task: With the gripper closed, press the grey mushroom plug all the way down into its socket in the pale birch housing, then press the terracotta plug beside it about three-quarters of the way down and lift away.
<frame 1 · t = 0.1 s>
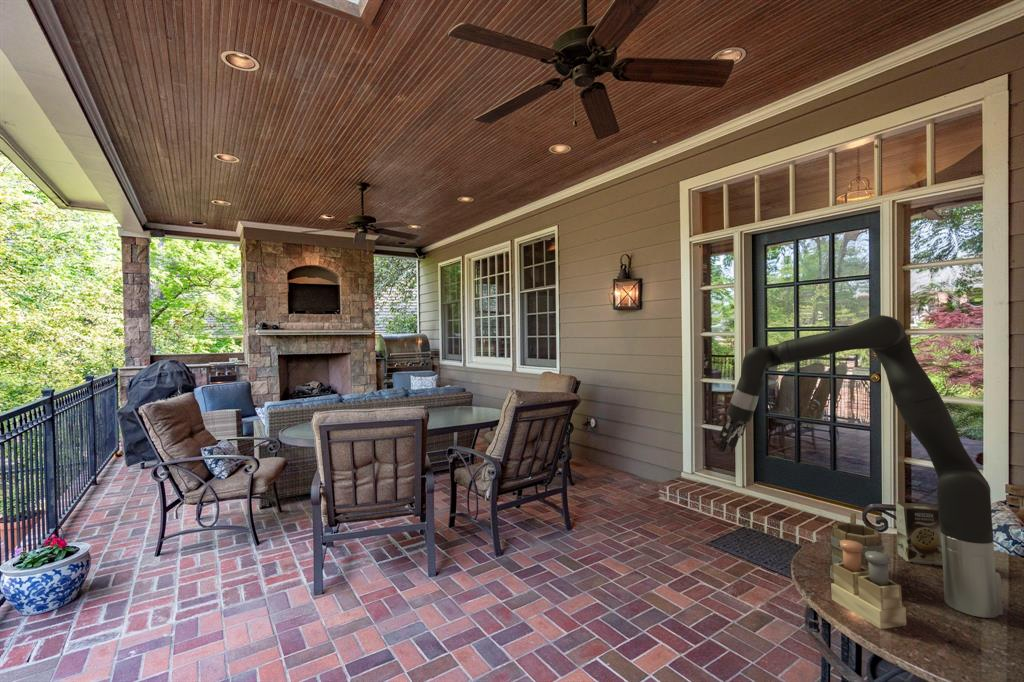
hand: (726, 448, 154), 31 cm above the table, tool tilted 20°, fingers open, 8 cm apart
terracotta plug: (851, 557, 115), point 12 cm above the table, slide at 0.0 cm
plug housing: (867, 611, 111), on the table
tankard: (858, 576, 129), on the table
coffee box: (921, 560, 137), on the table
grey mushroom plug: (878, 569, 108), point 12 cm above the table, slide at 0.0 cm
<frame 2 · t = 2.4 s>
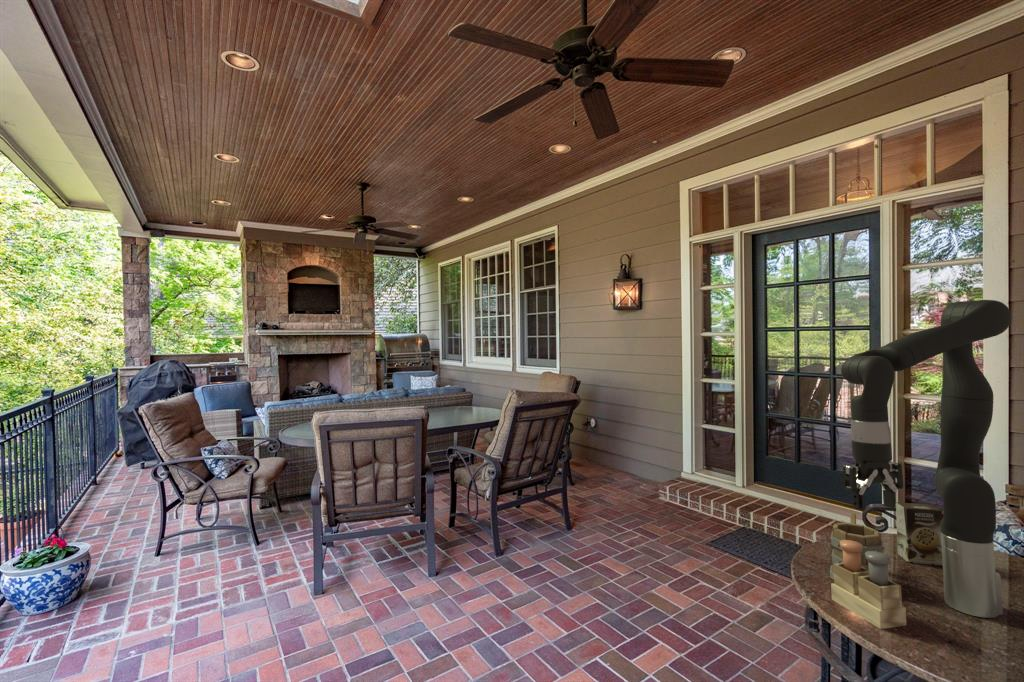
hand: (874, 508, 108), 26 cm above the table, tool pointing down, fingers open, 8 cm apart
nothing on the table moved.
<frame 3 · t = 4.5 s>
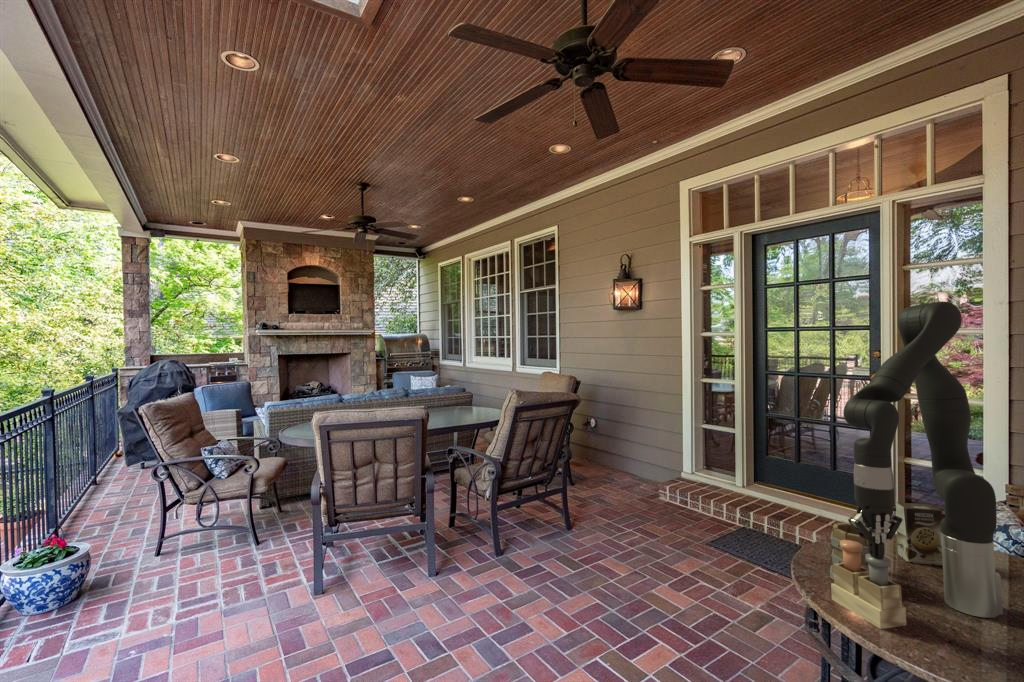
hand: (877, 557, 108), 14 cm above the table, tool pointing down, fingers closed
grey mushroom plug: (878, 572, 108), point 11 cm above the table, slide at 0.6 cm, touching gripper
everything else where it was.
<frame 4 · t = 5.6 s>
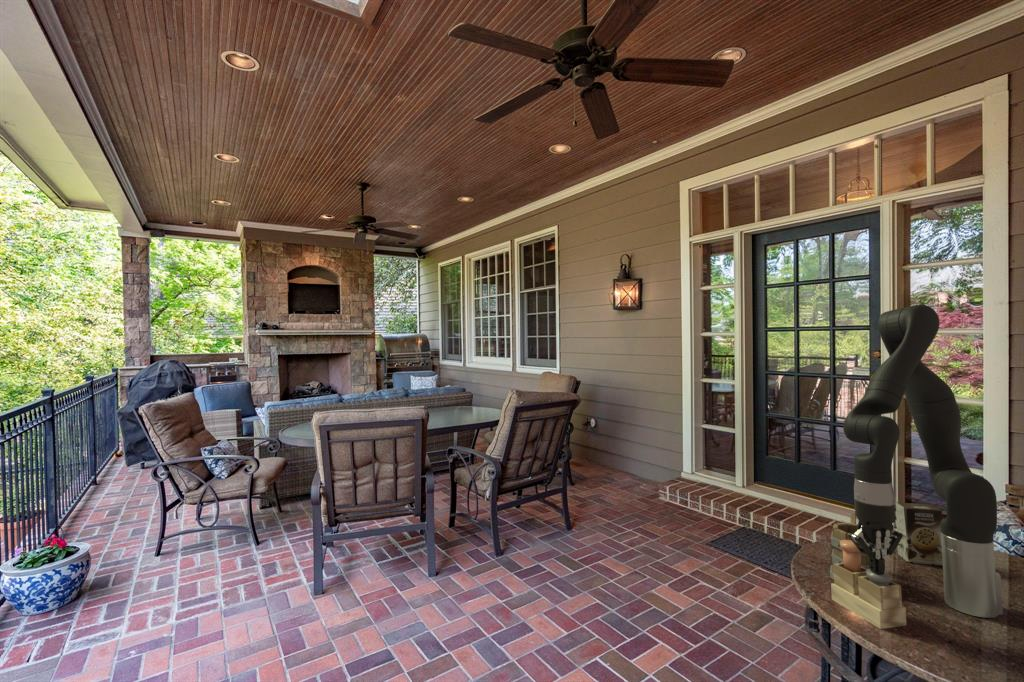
hand: (877, 572, 108), 11 cm above the table, tool pointing down, fingers closed
grey mushroom plug: (879, 587, 108), point 7 cm above the table, slide at 4.2 cm, touching gripper, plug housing
everything else where it was.
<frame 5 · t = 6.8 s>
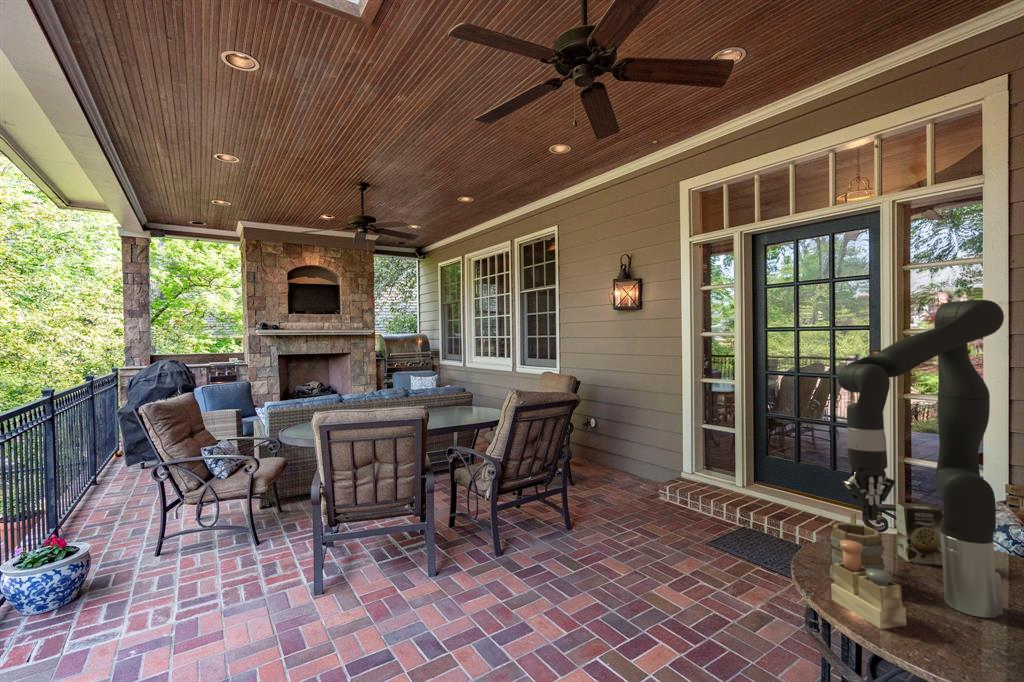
hand: (870, 519, 109), 23 cm above the table, tool pointing down, fingers closed
grey mushroom plug: (879, 587, 108), point 7 cm above the table, slide at 4.1 cm
everything else where it was.
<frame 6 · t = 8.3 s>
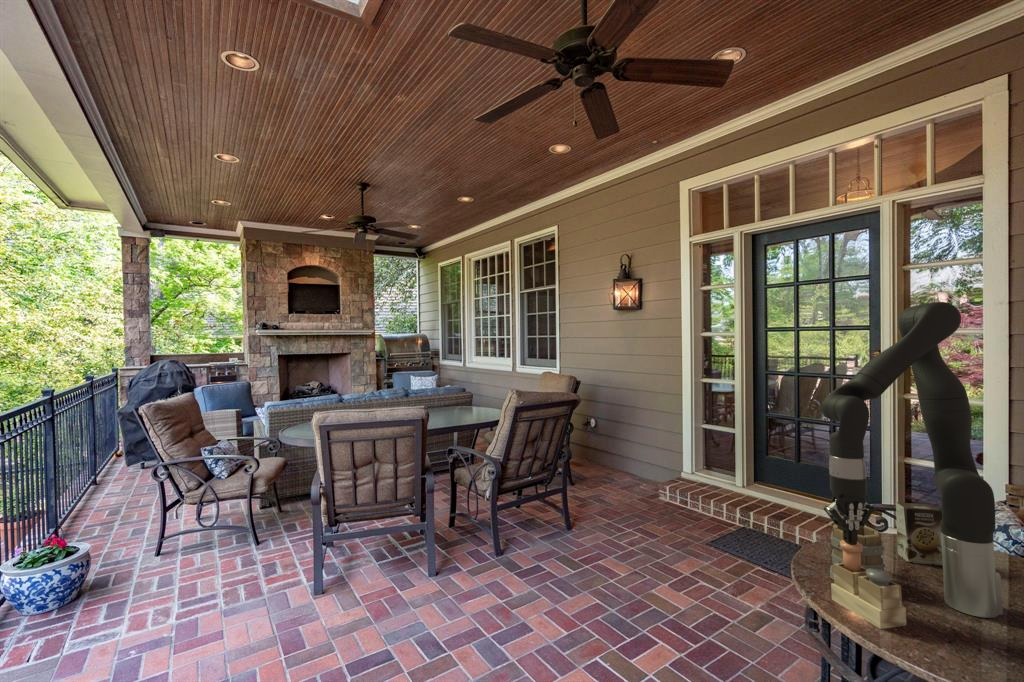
hand: (850, 543, 115), 15 cm above the table, tool pointing down, fingers closed
terracotta plug: (851, 557, 115), point 12 cm above the table, slide at 0.0 cm, touching gripper
everything else where it was.
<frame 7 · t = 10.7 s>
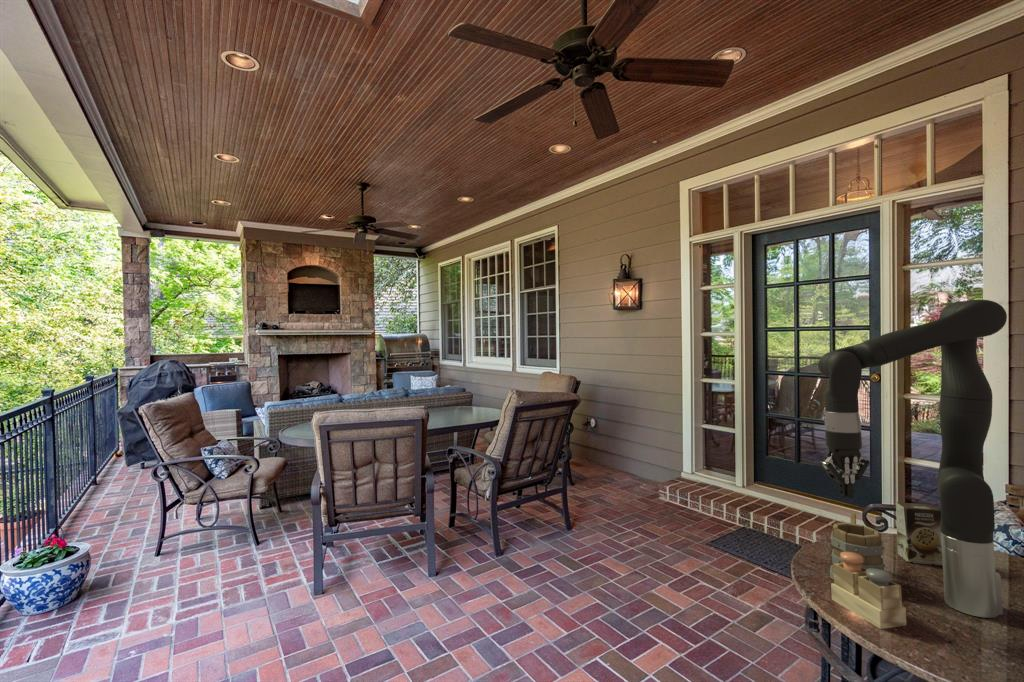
hand: (846, 497, 116), 26 cm above the table, tool pointing down, fingers closed
terracotta plug: (852, 569, 115), point 9 cm above the table, slide at 3.0 cm
everything else where it was.
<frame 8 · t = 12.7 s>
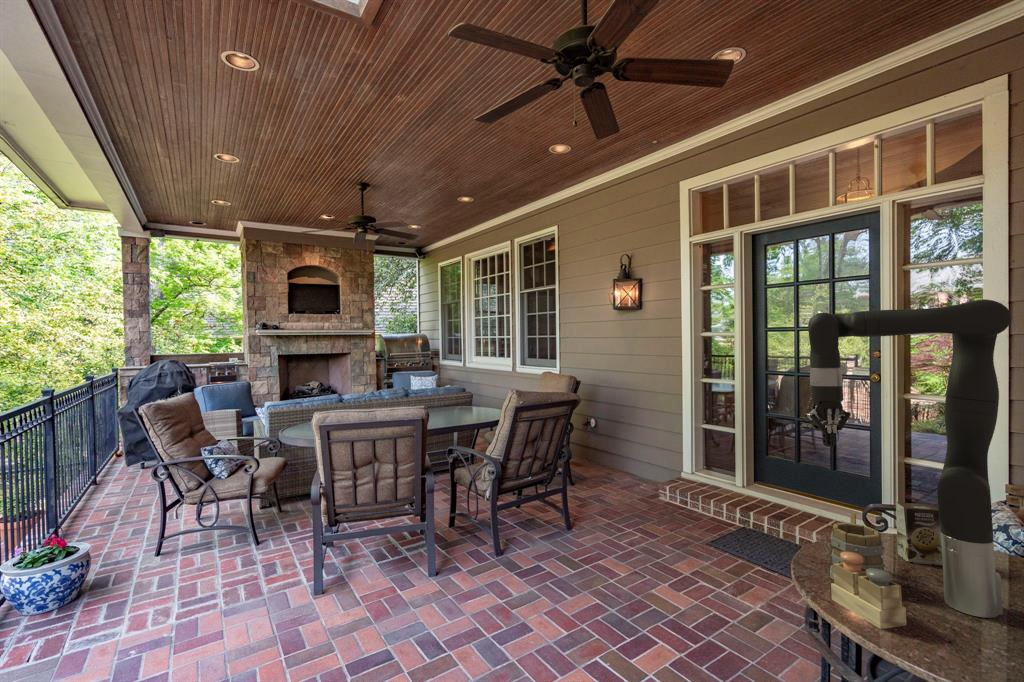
hand: (829, 446, 127), 37 cm above the table, tool pointing down, fingers closed
nothing on the table moved.
at the end: grey mushroom plug slide at 4.1 cm; terracotta plug slide at 3.0 cm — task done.
